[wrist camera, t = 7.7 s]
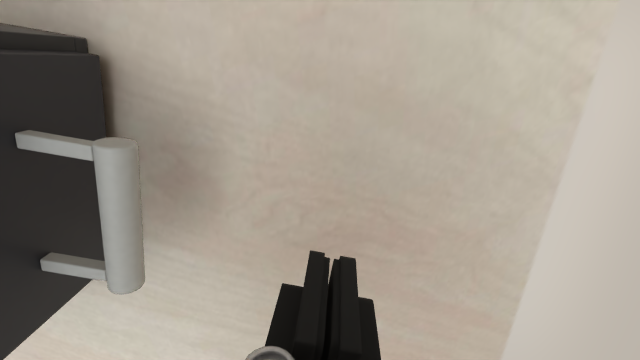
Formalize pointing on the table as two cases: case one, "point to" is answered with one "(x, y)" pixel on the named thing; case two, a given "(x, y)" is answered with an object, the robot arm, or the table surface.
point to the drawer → (61, 190)
